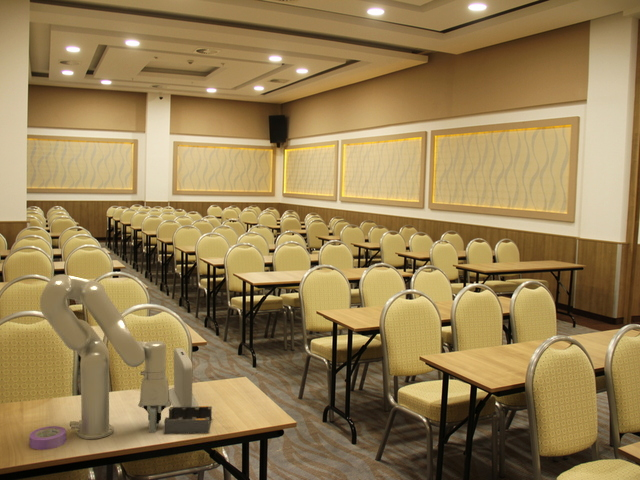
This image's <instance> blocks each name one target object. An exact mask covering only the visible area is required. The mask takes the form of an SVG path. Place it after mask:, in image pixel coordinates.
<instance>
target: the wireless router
mask: <svg viewBox="0 0 640 480" xmlns="http://www.w3.org/2000/svg"><path fill="white" fill-rule="evenodd" d="M193 375H194V374H193V362H192V360H191V359H190V357H189V355H188V354H187V352H186V351H185V349H184V348H183V347H177V348H174V349H173V387H172V388H169V399H170V402H171V406H172V407H199V406H200V405H199V403H198V402H197V400H196V398H195V395H194V394H193Z"/></svg>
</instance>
